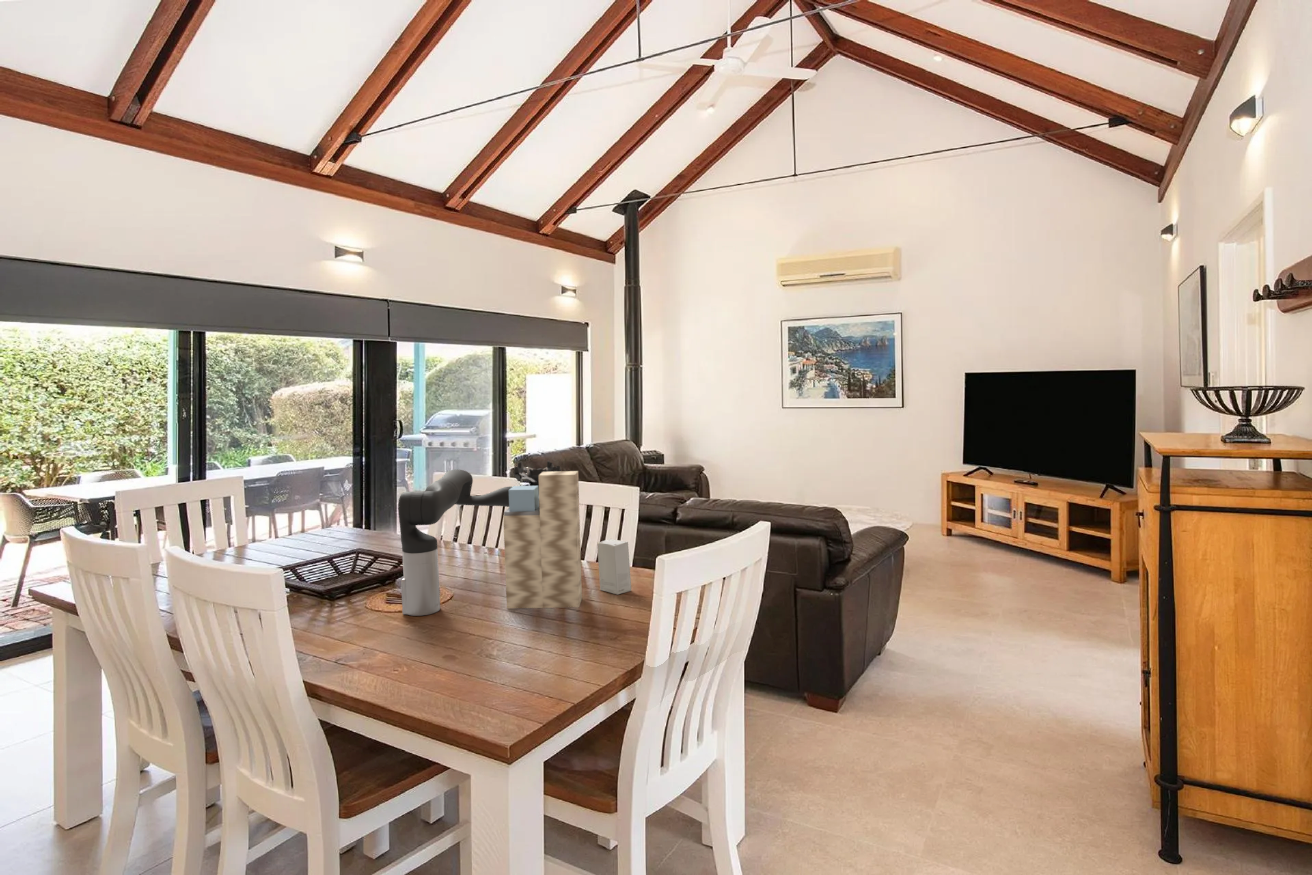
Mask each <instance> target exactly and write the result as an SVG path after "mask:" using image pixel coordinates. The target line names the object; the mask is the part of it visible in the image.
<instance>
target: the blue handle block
mask: <svg viewBox="0 0 1312 875" xmlns="http://www.w3.org/2000/svg"><path fill="white" fill-rule="evenodd" d="M511 487H512V488H511V489H509V507H508V508H509V512H519V511H535V510H536V509H537V508H538V507H539V492H538V486H530V485H513V486H511Z"/></svg>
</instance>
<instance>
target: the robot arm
mask: <svg viewBox="0 0 1312 875" xmlns="http://www.w3.org/2000/svg"><path fill="white" fill-rule="evenodd" d="M555 471H562V470H561V465H556V466H555V465H554V464H553V462H551V461H550V460H547V463H546V467H544V468H537V469H536V468H532V467H530V466H527V467H526V466H525V465H524V464H523V461H519V463H517V466H514V468H513V476H514V478H515V479H516V481H517V482H522V480H523V479H524V480H526V481H528V483H529V486H538V492H539V475H540V474H541V473H542V472H555ZM473 482H474V480H473V475H472V474H471V473H470V472H468V471H466V470H465V469H451V470H447V471H446V472H445V473H444V474H443V475H442V477H441V478H439V479H437V480H435V481H433V482H432V483H430V484H429V485H428V486H427V487H426V489H425V490H423V491H422V490H421V491H420V490H419V491H418V490H415V491H404V492H402V493H401V494H400V496H399V499H398V504H397V509H398V510H397V511H398V521H399V530H400V532H399V533H400V542H401V549H402V550H401V551H402V552H401V553H402V568H403V569H402V572H403V578H402V579H401V580H400V588H401V605H402V611H401V612H402V615H409V616H412V617H413V616H414V617H415V616H417V617H420V616H429V615H432V614H436V613H438V612H439V611H440V609H441V593H440V592H441V590H440V571H439V552H438V551H439V548H438V539H437V538H436V537H435V536H434V535H430V534H428V533H425V532H422V531H421V530H420V529H419V528H418V527H417V526H430V525H435V524H436V523H438V522H439V520H440V519H441V518H442V517H443V515H444V514H445V513H446V512H447V511H449V509H451V508H453V507H454V506H455V505H457V506H460V505H461V506H475V507H476V506H477V507H479V506H480V507H482V506H483V507H505V508H506V507H507V508H509V489H511V488H512V487H513V486H504V487H500V488H498V489H496V490H494V491H490V492H488V493H485V494H482V495H471V492H472V487H473ZM539 507H540V506H539Z"/></svg>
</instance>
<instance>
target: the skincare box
mask: <svg viewBox="0 0 1312 875" xmlns="http://www.w3.org/2000/svg"><path fill="white" fill-rule="evenodd" d="M596 543H597V558H598V559H597V560H598V573H599V574H598V575H599V578H598V579H599V590H600V591H604V592H606V593H607V592H608V593H610V594H613V595H620V594H624V593H628V592H631V591H632V581H631V580H632V579H631V566H630V563H631V562H630V554H629V553H630V551H629V541H624V540H619V539H618V540H617V539H613V538H610V539H605V540H602V541H598V542H596Z"/></svg>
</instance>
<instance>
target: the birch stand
mask: <svg viewBox="0 0 1312 875" xmlns="http://www.w3.org/2000/svg"><path fill="white" fill-rule="evenodd" d="M579 486H580V485H579V470H570V471H568V470H567V471H566V470H565V471H564V470H563V471H562V470H561V471H555V472H542V473H541V474H540V475H539V506H540V507H538V508H537V509H536V510H535V511H519V512H509V507H507V509H506V510H504V512H503V516H502V517H503V539H504V540H503V541H504V543H503V545H504V546H503V548H504V572H505V594H506V595H505V596H506V599H505V600H506V609H508V610H509V609H510V610H511V609H551V608H552V609H554V608H555V609H561V608H580V606H581V602H582V601H583V600H582V599H583V592H582V591H583V590H582V561H581V560H582V559H581V526H580V525H581V524H580V522H581V521H580V517H581V516H580V493H579V492H580V491H579V490H580V487H579Z"/></svg>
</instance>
